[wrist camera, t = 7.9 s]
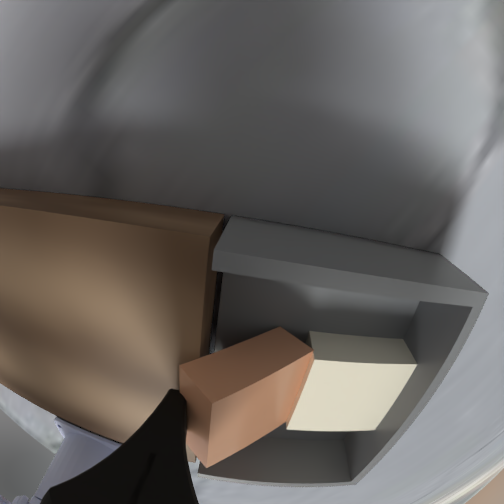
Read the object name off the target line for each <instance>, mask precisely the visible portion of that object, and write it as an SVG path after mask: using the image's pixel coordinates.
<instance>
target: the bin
mask: <svg viewBox="0 0 504 504" xmlns="http://www.w3.org/2000/svg"><path fill="white" fill-rule="evenodd" d="M212 270H213V271H219V272H223V279H222V287H221V296H220V304H219V313H218V322H217V331H216V340H215V349H214V353H215V352H217V351H220V350H223V349H225V348H228V347H230V346H233V345H236V344H238V343H241V342H243V341H246V340H248V339H251V338H253V337H256V336H258V335H260V334H263V333H265V332H268V331H270V330H272V329H275V328H277V327H279V326H281V327H282V328H283V329H285V330H286V331H288V332H289V333H290V334H292V335H293V336H295V337H296V338H298V339H299V340H300V341H302V342H303V343H306V340H307V337H308V333H309V331H315V332H324V333H333V334H343V335H354V336H366V337H380V338H395V339H403V340H404V342H405V343H406V345H407V347H408V348H409V350H410V352H411V354H412V355H413V357H414V359H415V361H416V363H417V366H416V368H415V369H414V371H413V373H412V375H411V376H410V378H409V380H408V381H407V383H406V384H405V386H404V388H403V389H402V391H401V392H400V394H399V396H398V397H397V399H396V400H395V402H394V403H393V405H392V406H391V408H390V409H389V411H388V412H387V414H386V415H385V416H384V418H383V419H382V421H381V422H380V423H379V425H378V426H377V427H376V429H375V430H367V431H305V430H288V429H286V422H285V423H283V424H282V425H280V426H279V427H277V428H276V429H274V430H273V431H271V432H269V433H268V434H266V435H265V436H263V437H261V438H260V439H258V440H257V441H255V442H253V443H252V444H250V445H248V446H246V447H245V448H243V449H241V450H240V451H238V452H236V453H234V454H232V455H231V456H229V457H227V458H225V459H223V460H221V461H220V462H218V463H216V464H214V465H212V466H210V467H208V468H206V467H205V466H204V465H203V464H202V462H201V461H200V464H199V469H198V477H201V478H207V479H213V480H219V481H225V482H233V483H241V484H251V485H262V486H279V487H328V486H344V485H356V484H357V483H358V482H359V481H360V480H361V479H362V478H363V477H364V476H365V475H366V474H367V473H368V472H369V471H370V470H371V469H372V468H373V467H374V466H375V465H376V464H377V463H378V462H379V461H380V460H381V459H382V458H383V457H384V456H385V455H386V454H387V453H388V451H389V450H390V449H391V448H392V447H393V446H394V445H395V444H396V442H397V441H398V440H399V439H400V438H401V437H402V435H403V434H404V433H405V432H406V431H407V429H408V428H409V427H410V426H411V424H412V423H413V422H414V421H415V419H416V418H417V417H418V415H419V414H420V413H421V411H422V410H423V409H424V407H425V406H426V405H427V403H428V402H429V400H430V399H431V397H432V396H433V395H434V393H435V392H436V390H437V389H438V387H439V386H440V384H441V383H442V381H443V380H444V378H445V376H446V375H447V373H448V372H449V370H450V368H451V367H452V365H453V363H454V362H455V360H456V358H457V357H458V355H459V353H460V351H461V350H462V348H463V346H464V344H465V342H466V340H467V339H468V337H469V335H470V333H471V331H472V329H473V327H474V325H475V323H476V321H477V319H478V317H479V314H480V312H481V310H482V308H483V306H484V303H485V301H486V299H487V296H488V294H489V293H488V292H487V291H485V290H484V289H483V288H482V287H481V286H479V285H478V284H477V283H476V282H475V281H473V280H472V279H471V278H470V277H469V276H467V275H466V274H465V273H464V272H462V271H461V270H460V269H459V268H457V267H456V266H455V265H454V264H452V263H451V262H450V261H448V260H447V259H446V258H444V257H443V256H442V255H440V254H436V253H432V252H427V251H422V250H418V249H413V248H408V247H404V246H399V245H394V244H389V243H384V242H379V241H374V240H369V239H364V238H359V237H354V236H348V235H343V234H338V233H332V232H327V231H322V230H316V229H310V228H305V227H299V226H293V225H288V224H282V223H276V222H270V221H264V220H258V219H252V218H245V217H239V216H233V215H232V216H231V218H230V220H229V222H228V224H227V226H226V227H225V229H224V231H223V233H222V235H221V237H220V239H219V241H218V243H217V245H216V247H215V248H214V252H213V261H212Z"/></svg>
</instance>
